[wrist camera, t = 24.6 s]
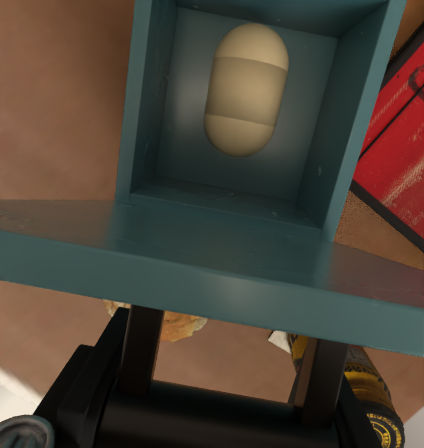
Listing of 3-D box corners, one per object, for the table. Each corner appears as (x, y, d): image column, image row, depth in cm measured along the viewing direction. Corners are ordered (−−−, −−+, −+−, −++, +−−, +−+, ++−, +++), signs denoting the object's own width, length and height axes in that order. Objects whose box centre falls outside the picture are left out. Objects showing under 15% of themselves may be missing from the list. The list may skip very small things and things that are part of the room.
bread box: (170, -5, 25) (142, -72, 17) (349, 31, 25) (412, -17, 17) (146, 181, 29) (113, 204, 21) (300, 210, 29) (332, 245, 21)
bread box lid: (-178, 197, 5) (-210, 502, 5) (691, 358, 5) (609, 638, 6) (112, 199, 20) (99, 280, 20) (335, 242, 20) (318, 320, 21)
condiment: (267, 339, 33) (290, 452, 22) (320, 274, 31) (378, 361, 20) (325, 373, 34) (377, 500, 23) (381, 313, 32) (470, 418, 20)
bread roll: (203, 220, 34) (183, 205, 26) (234, 321, 32) (222, 338, 24) (114, 249, 35) (69, 244, 27) (138, 349, 33) (98, 373, 25)
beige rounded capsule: (221, 28, 25) (219, 4, 20) (289, 41, 25) (305, 20, 20) (201, 147, 27) (194, 152, 22) (263, 159, 27) (271, 167, 22)
